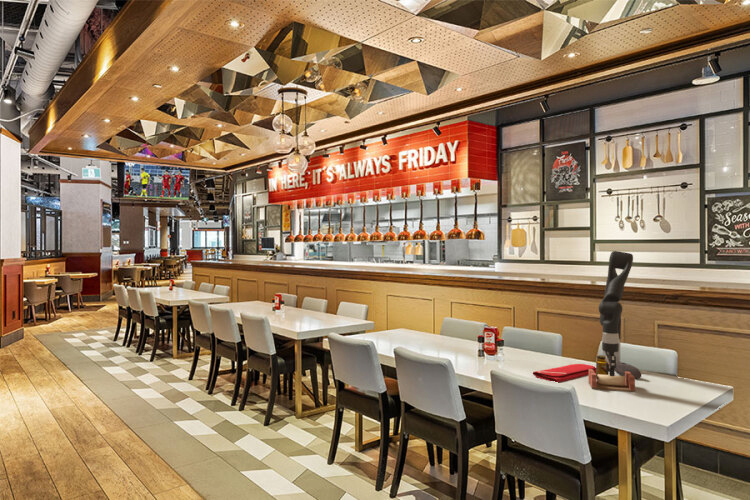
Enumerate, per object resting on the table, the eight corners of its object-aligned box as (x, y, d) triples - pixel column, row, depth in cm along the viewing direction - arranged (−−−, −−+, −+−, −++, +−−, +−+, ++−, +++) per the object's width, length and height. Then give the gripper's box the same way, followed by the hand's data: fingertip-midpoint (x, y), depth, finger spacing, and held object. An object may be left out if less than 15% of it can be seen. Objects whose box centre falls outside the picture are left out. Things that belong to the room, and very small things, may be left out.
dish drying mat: (601, 372, 269) (601, 366, 269) (557, 384, 246) (557, 376, 246) (576, 367, 282) (576, 360, 282) (531, 377, 259) (531, 370, 259)
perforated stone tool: (644, 380, 252) (644, 366, 252) (637, 381, 250) (637, 367, 250) (620, 373, 266) (620, 360, 266) (613, 374, 264) (613, 361, 264)
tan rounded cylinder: (623, 384, 239) (623, 374, 239) (625, 387, 234) (625, 377, 234) (596, 382, 242) (596, 373, 242) (598, 385, 238) (598, 375, 237)
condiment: (608, 381, 250) (608, 358, 250) (591, 378, 254) (591, 356, 254) (609, 377, 256) (609, 355, 256) (592, 375, 260) (592, 353, 260)
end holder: (588, 382, 247) (588, 369, 247) (629, 385, 241) (629, 371, 241) (592, 389, 235) (592, 374, 235) (635, 392, 230) (634, 377, 230)
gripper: (621, 344, 231) (621, 378, 231) (615, 339, 244) (615, 370, 244) (604, 343, 233) (604, 377, 233) (599, 338, 246) (599, 369, 246)
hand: (610, 373), depth 239 cm, fingers open, 8 cm apart
